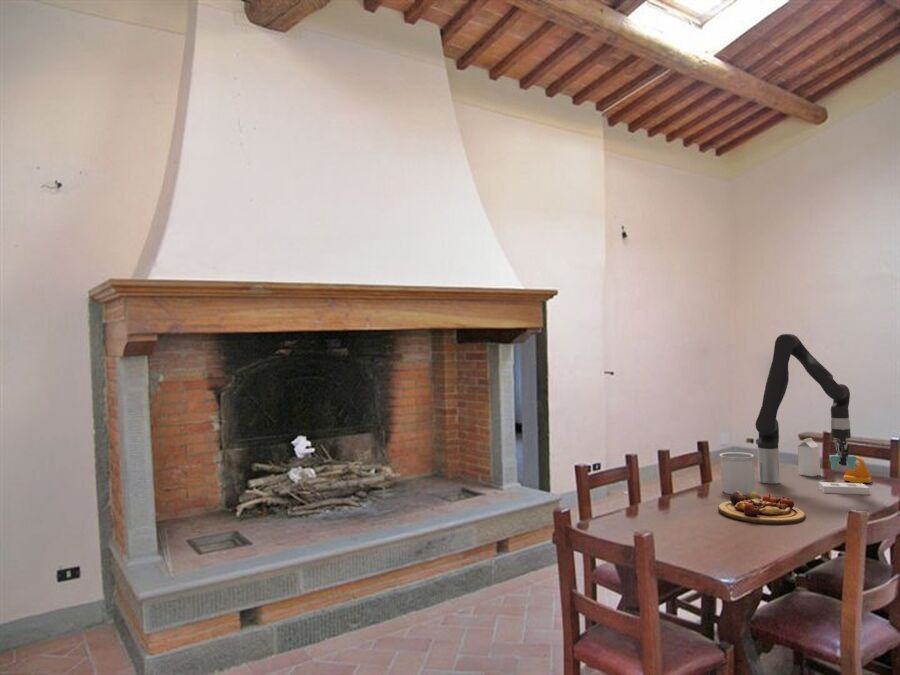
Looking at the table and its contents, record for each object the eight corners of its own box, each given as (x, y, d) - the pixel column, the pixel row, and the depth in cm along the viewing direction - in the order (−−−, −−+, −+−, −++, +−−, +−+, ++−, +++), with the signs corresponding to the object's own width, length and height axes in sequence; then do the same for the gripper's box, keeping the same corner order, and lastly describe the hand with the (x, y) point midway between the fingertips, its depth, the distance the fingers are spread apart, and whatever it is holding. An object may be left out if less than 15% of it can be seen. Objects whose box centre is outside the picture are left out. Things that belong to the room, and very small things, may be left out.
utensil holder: (722, 494, 283) (721, 457, 284) (719, 487, 297) (717, 451, 298) (757, 496, 279) (756, 457, 279) (752, 488, 293) (751, 452, 293)
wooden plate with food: (777, 531, 228) (777, 508, 229) (702, 512, 255) (701, 492, 255) (821, 517, 246) (820, 497, 246) (746, 501, 273) (745, 482, 273)
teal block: (831, 470, 282) (830, 456, 282) (829, 468, 285) (829, 455, 285) (856, 470, 279) (855, 456, 279) (854, 469, 282) (853, 455, 282)
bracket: (843, 482, 300) (842, 457, 301) (845, 479, 306) (844, 455, 306) (869, 484, 293) (868, 459, 294) (871, 481, 299) (870, 457, 299)
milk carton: (820, 475, 316) (818, 438, 317) (812, 477, 313) (811, 440, 313) (806, 473, 323) (805, 437, 323) (798, 474, 319) (797, 438, 319)
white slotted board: (823, 492, 280) (823, 486, 280) (819, 488, 289) (818, 482, 289) (869, 494, 274) (869, 487, 274) (863, 490, 283) (863, 483, 283)
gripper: (827, 425, 290) (829, 461, 290) (835, 429, 277) (837, 467, 276) (845, 425, 288) (847, 462, 287) (854, 429, 274) (856, 467, 274)
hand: (842, 464), depth 282 cm, fingers closed on teal block, 3 cm apart
